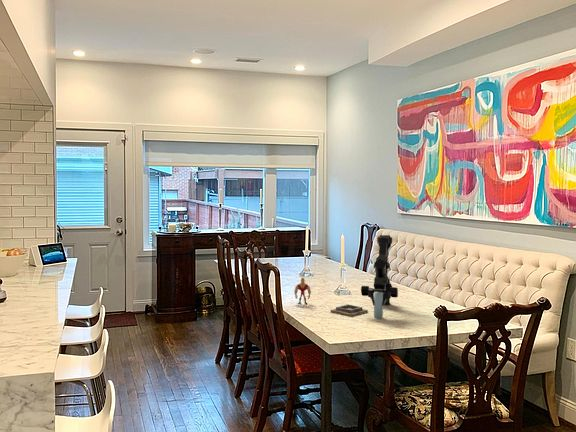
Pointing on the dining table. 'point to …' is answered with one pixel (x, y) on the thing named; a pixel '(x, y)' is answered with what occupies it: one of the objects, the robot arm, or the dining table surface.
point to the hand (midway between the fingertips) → (378, 305)
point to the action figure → (302, 290)
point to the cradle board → (349, 310)
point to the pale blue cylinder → (378, 304)
